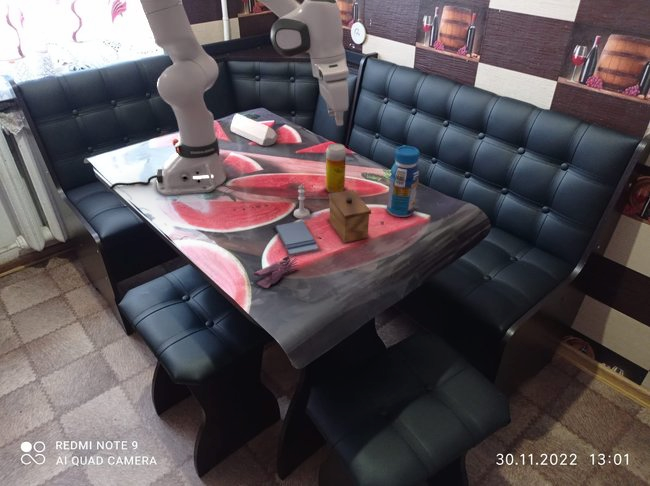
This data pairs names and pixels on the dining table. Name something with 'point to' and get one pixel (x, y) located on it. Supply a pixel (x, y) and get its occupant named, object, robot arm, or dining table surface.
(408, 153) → the beverage bottle
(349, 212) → the bread box
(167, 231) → the dining table surface
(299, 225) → the grey flat slab
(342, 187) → the yellow cylinder
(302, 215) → the chess piece
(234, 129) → the crystal
